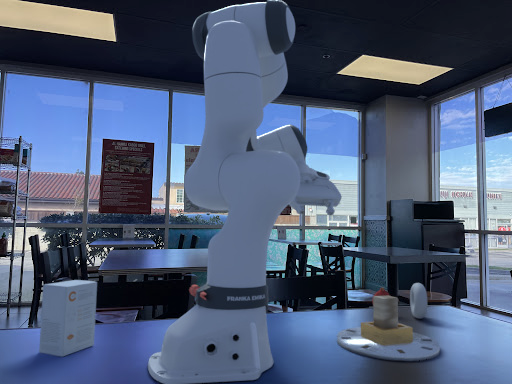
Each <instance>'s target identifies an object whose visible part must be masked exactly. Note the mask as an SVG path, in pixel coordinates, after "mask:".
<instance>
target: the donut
mask: <svg viewBox="0 0 512 384" xmlns="http://www.w3.org/2000/svg"><path fill="white" fill-rule="evenodd" d="M409 305H410V312H411V314H412V316H413V317H414V318H416V319H419V320H420V319H421V320H422V319H423V318H425V316H426V314H427V311H428V293H427V290H426V287H425V286H424V284H422V283H420V282H415V283H413V284H412V286H411V288H410V293H409Z"/></svg>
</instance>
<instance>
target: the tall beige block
mask: <svg viewBox="0 0 512 384" xmlns="http://www.w3.org/2000/svg"><path fill="white" fill-rule="evenodd" d="M372 299H373V303H372V306H373V309H372V310H373V312H372V313H373V321H374V326H377V327H379V328H382V329H387V328H398V323H399V298H398V297H396V296H391V295H390V296H388V295H387V296H374V295H373V297H372Z"/></svg>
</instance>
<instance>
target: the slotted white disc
mask: <svg viewBox="0 0 512 384" xmlns="http://www.w3.org/2000/svg"><path fill="white" fill-rule="evenodd" d="M336 339H337V340H336V341H337V344H338V345H339V346H340V347H341V348H343V349H344V350H347V351H349V352H351V353H354V354H358V355H360V356H364V357H368V358H373V359H379V360H386V361H398V362H417V361H418V362H419V360H420V361H426V359H427V360H430V359H434V358H435V357H438V356H439V355H440V343H439V342H437V341H436V340H435V339H433V338H432V337H429V336H427V335H424V334H421V333H419V332H415V331H413V326H410V325H406V324H403V323H400V322H398V328H387V329H382V328H379V327H377V326H374V320H373V321H362V322H360V326H358V327H357V326H356V327H350V328H345V329H342V330H341V331H339V332H338V333H337V336H336Z"/></svg>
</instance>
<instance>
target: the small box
mask: <svg viewBox="0 0 512 384" xmlns="http://www.w3.org/2000/svg"><path fill="white" fill-rule="evenodd" d="M97 292H98V281H94V280H93V281H92V280H85V279H84V280H83V279H82V280H81V279H74V280H73V279H72V280H65V281H59V282H53V283H45V284H42V299H41V300H42V301H41V314H40V315H41V317H40V319H41V320H40V330H39V331H40V332H39V333H40V335H39V349H38V350H39V351H38V352H39V353H40V354H45V355H46V354H47V355H51V356H55V357H63V358H64V357H65V356H68V355H70V354H74V353H76V352H78V351H81V350H85V349H87V348H90V347H92V346H95V335H96V334H95V332H96V331H95V330H96V312H97V311H96V310H97V296H98V295H97Z"/></svg>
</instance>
